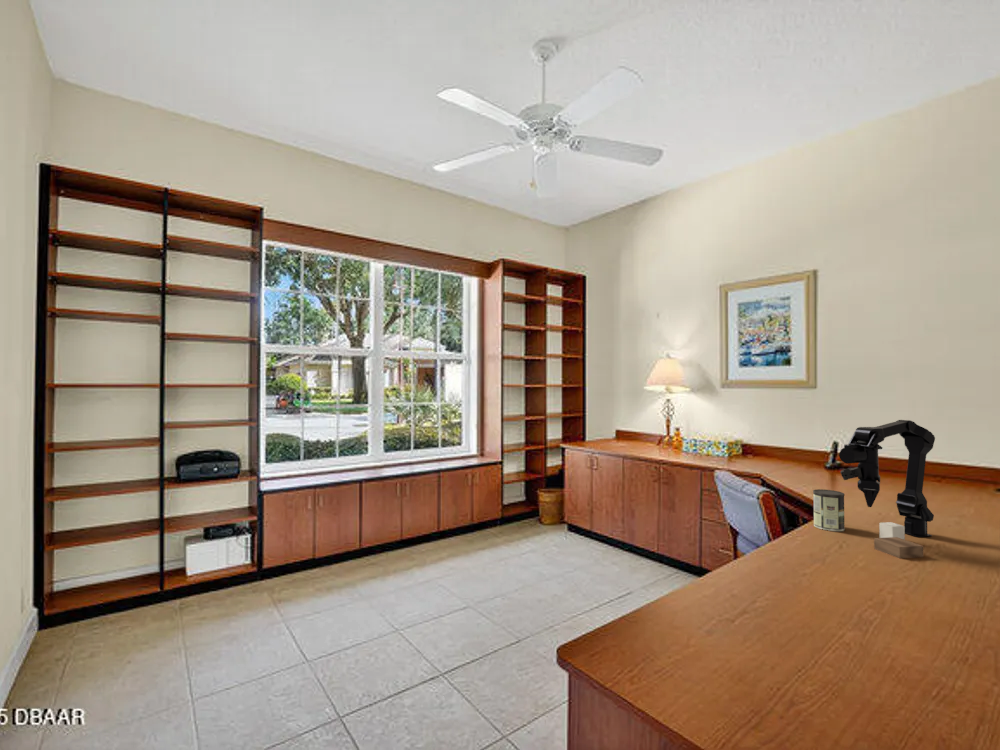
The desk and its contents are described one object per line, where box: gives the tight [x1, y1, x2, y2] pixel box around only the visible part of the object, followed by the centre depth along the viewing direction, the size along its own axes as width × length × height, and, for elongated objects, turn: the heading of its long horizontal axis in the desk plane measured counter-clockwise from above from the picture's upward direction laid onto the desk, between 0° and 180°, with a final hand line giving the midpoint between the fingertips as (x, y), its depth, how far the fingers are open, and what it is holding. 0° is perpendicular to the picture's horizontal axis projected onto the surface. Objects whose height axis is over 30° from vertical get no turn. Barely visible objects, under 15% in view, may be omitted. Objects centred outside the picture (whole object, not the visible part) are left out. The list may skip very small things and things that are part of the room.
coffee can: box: [812, 488, 846, 532], centre depth 188 cm, size 10×10×14 cm
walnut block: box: [873, 537, 924, 559], centre depth 160 cm, size 9×9×4 cm
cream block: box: [878, 521, 906, 540], centre depth 172 cm, size 5×5×6 cm
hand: (869, 504), depth 174 cm, fingers open, 9 cm apart
